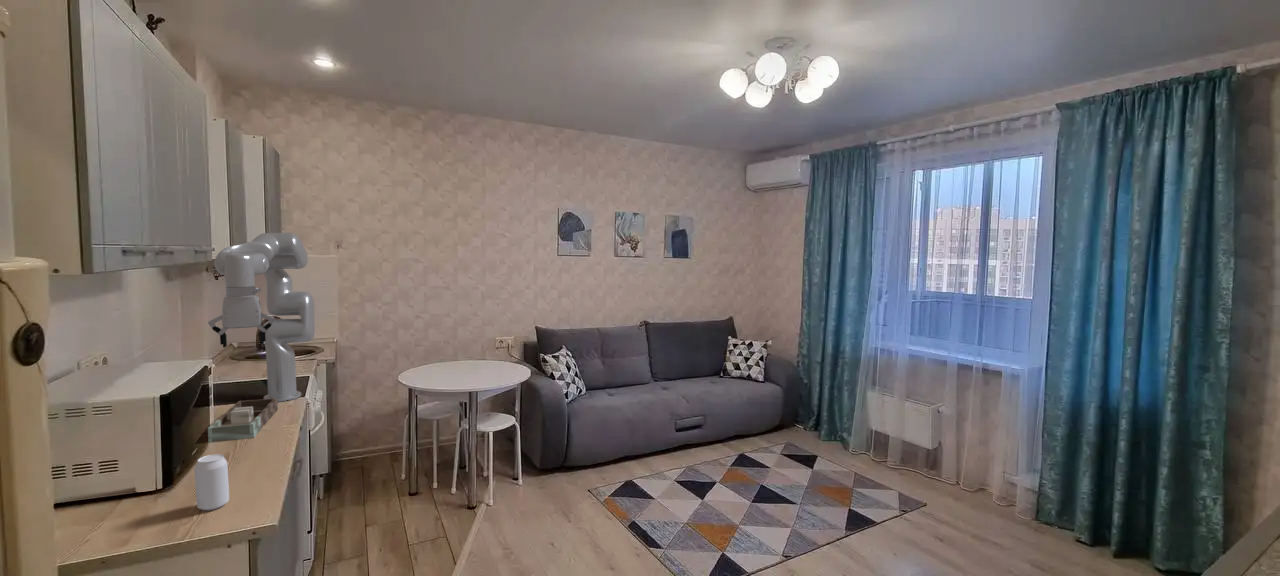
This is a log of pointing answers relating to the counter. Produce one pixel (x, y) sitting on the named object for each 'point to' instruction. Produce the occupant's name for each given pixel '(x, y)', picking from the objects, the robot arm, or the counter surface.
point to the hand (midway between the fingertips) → (243, 345)
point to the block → (242, 415)
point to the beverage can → (211, 482)
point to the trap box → (229, 431)
